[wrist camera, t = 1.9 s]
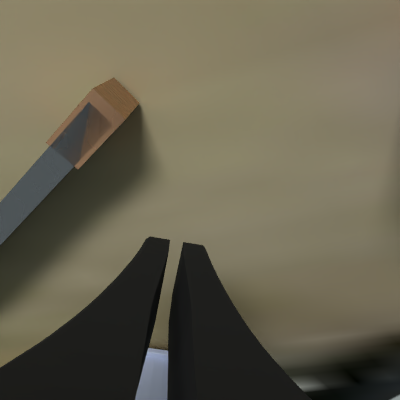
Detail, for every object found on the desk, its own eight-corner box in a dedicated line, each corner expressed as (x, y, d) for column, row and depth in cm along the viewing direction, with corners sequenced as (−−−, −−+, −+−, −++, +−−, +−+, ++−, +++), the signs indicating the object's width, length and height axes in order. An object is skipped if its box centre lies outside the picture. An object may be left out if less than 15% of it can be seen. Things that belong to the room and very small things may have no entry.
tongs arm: (-24, 275, 21) (-63, 317, 18) (-47, 259, 20) (-93, 301, 17) (139, 103, 16) (125, 119, 13) (114, 77, 16) (92, 88, 13)
